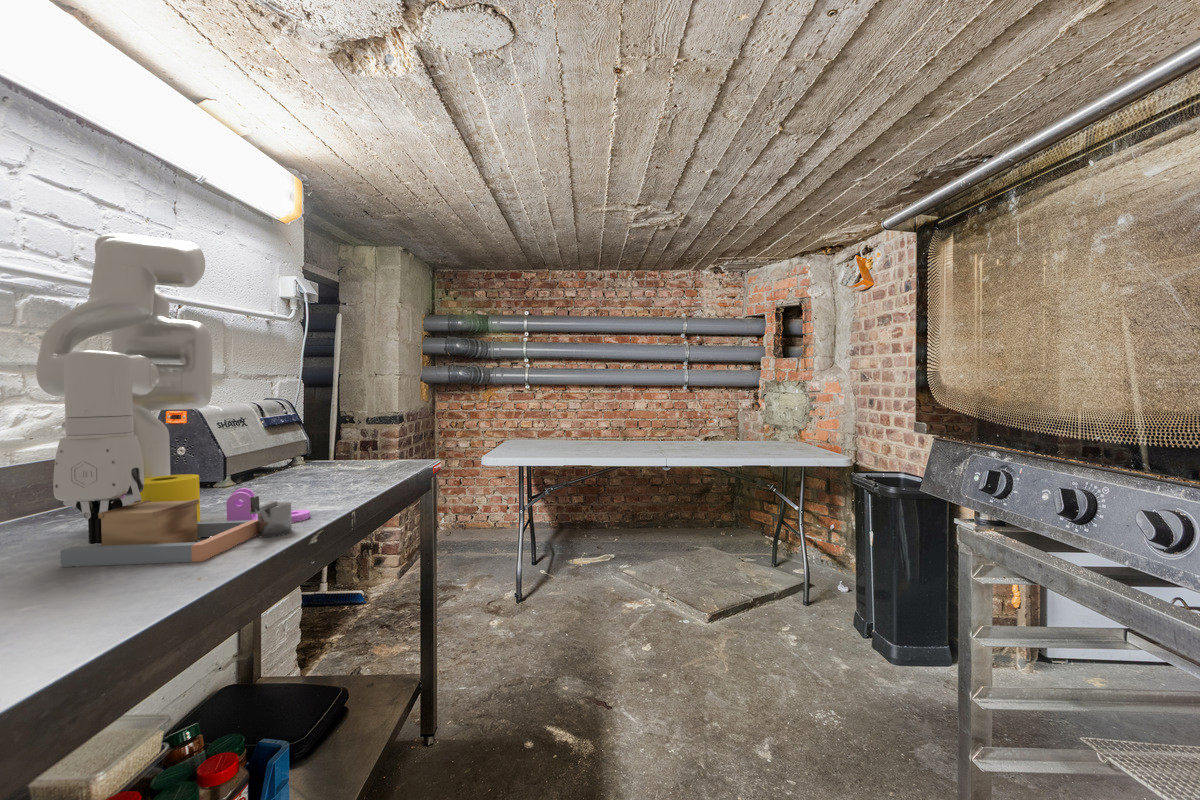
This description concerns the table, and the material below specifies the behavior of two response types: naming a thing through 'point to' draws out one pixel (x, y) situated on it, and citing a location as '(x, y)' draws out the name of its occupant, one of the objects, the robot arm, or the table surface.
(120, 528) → the block
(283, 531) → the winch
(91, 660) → the table surface
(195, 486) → the yellow roll
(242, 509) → the bracket
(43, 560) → the table surface
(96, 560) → the bay
